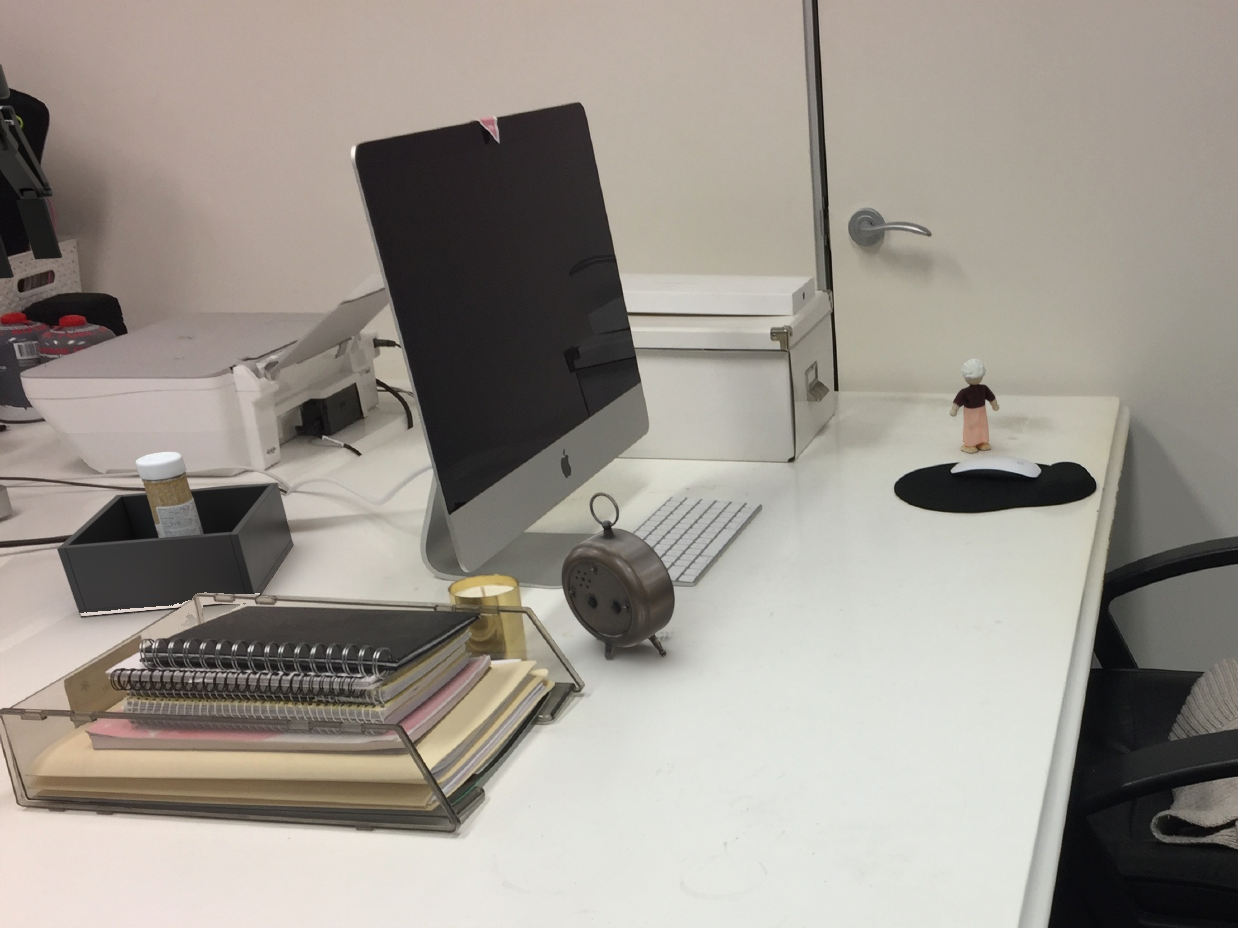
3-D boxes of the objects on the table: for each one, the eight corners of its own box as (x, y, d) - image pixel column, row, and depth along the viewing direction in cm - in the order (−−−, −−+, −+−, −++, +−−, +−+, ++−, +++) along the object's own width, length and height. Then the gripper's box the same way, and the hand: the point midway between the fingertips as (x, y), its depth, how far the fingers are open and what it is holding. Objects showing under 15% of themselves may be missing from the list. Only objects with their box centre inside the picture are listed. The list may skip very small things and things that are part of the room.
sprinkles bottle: (175, 567, 149) (140, 452, 143) (218, 562, 150) (186, 448, 144) (165, 582, 145) (129, 464, 139) (209, 577, 146) (175, 460, 140)
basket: (80, 617, 139) (56, 548, 135) (136, 558, 154) (116, 494, 150) (256, 601, 141) (237, 533, 138) (293, 544, 157) (277, 482, 153)
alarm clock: (684, 652, 127) (666, 492, 120) (647, 674, 123) (626, 510, 116) (600, 630, 132) (577, 475, 125) (562, 650, 128) (536, 492, 121)
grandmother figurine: (984, 441, 188) (984, 352, 182) (1002, 446, 185) (1003, 356, 179) (943, 452, 183) (942, 361, 178) (961, 458, 181) (961, 366, 175)
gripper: (-59, 61, 128) (14, 285, 137) (43, 55, 149) (100, 249, 159) (-144, 63, 126) (-64, 289, 136) (-29, 57, 148) (33, 252, 158)
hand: (25, 268), depth 148 cm, fingers open, 13 cm apart
